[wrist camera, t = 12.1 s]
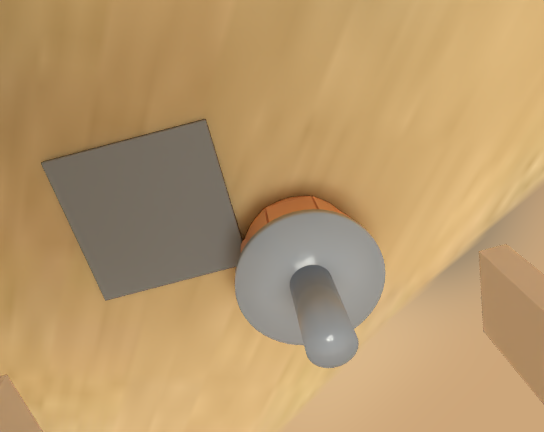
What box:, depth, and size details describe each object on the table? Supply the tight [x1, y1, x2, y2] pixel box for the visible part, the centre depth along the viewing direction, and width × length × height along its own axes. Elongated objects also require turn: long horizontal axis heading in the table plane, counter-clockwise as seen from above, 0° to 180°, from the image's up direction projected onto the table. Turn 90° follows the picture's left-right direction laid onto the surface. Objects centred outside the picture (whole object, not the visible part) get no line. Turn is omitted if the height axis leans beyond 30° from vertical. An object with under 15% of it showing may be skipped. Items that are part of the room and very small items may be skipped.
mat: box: [41, 119, 242, 301], centre depth 41 cm, size 14×14×1 cm
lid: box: [235, 209, 385, 368], centre depth 35 cm, size 13×13×9 cm
